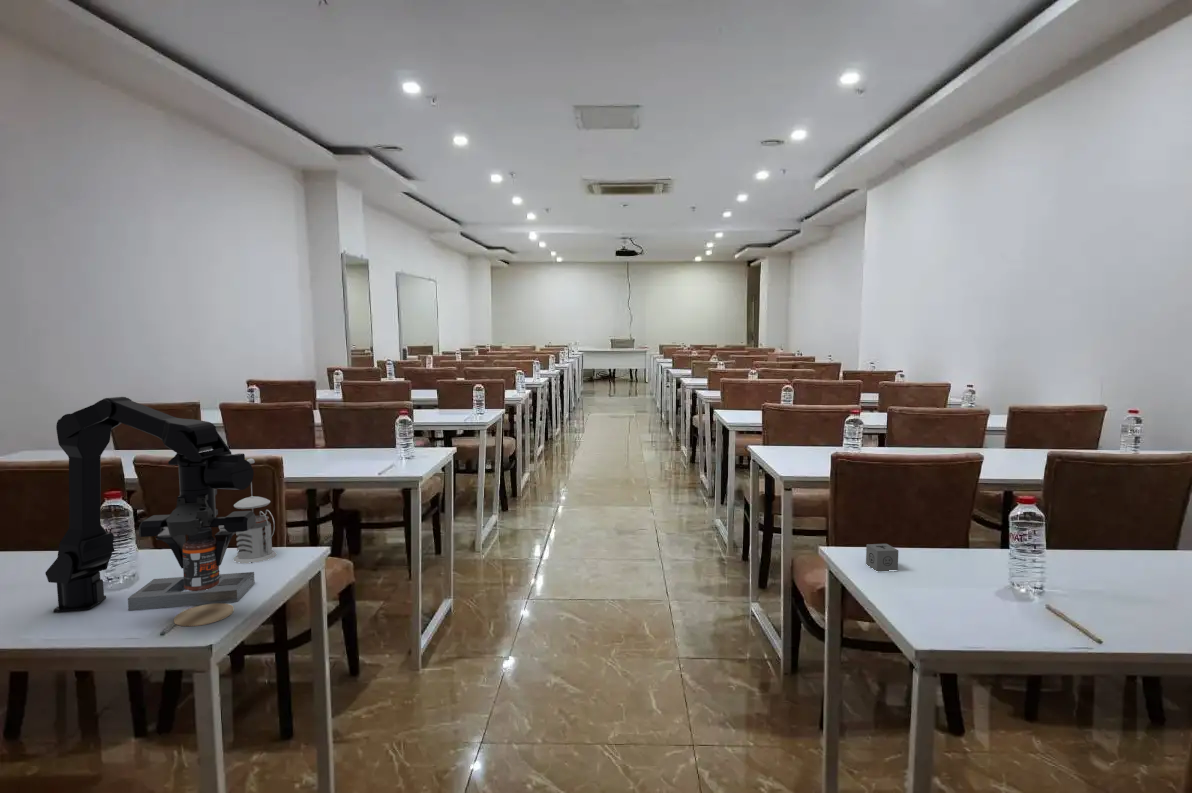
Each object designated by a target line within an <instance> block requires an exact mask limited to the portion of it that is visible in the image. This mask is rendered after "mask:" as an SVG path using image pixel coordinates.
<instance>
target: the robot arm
mask: <svg viewBox="0 0 1192 793" xmlns="http://www.w3.org/2000/svg"><path fill="white" fill-rule="evenodd" d="M121 424H123V425H126V426H128V427H131V428H133V429H136V430H139V431H140V432H144V433H146V434H149V435H151V436H153V437H157V438H159V439H160V440H161V441H162V443H163V445H164V446H165V447H166V448H168V449H170V450H171V451H173V452H175V453H176V454H175V455H174V456H173V457H172V458H171V459H170V460H168V462H167V463H168V465H170V466H178V479H179V480H178V482H179V495H178V496H177V499H176V506H175V509H173V510H172V511H171V513H170V514H154V515H151V516H149V517H148V518H145V519H144V520H142V521H141V522H140V523H139V526H138V537H140V538H143V537H145V538H148V537H155V539H156V540H157V541H162V542H163V543H165V544H167V546H168V547H169V549H170V550H171V551H172V553H173V555H174V557H175V559H176V561H177V562H178V565H179V567H180V568H181V569H183V544H184V543H185V542H187V540H186V537H188V536H191V535H195V534H197V533H198V532H199V531H200V528H218V529H219V531H218V532H216V533H215V534H214V537H215V539H216V541H217V545H216V563H217V566H219V567H220V566H221V565H222V563H223V560H224V557H225V555H226V551H227V549H228V546H229V543H230V542H231V540H232V538H233V536H234V535H235V534H236V532H243V531H247V530H249V529H250V528H251V527H252V526H253V525H255V524H256V517H255V516H256V514H255V512H254V511H253V512H252V510H240V511H238V510H237V511H232V512H231V513H229V514H228V515H226V516H218V515H219V509H217V508H216V507H217V506H216V496H217V495H218V490H232V491H233V490H235V491H236V490H238V491H243V490H246V489H247V488H248V487H249V486H251V482H252V483H253V480H254V472H255V471H254V468H253V467H252V463H251V464H250V463H249V462H248V461H247V459H246V456H245V454H244V453H234V454H233V453H232V451H231V449H230V448H229V447H228V445H227V444H226V442H225V441H224V439H223V438H222V437H221V435H220V434H219V432H218V431H217V427H216V426H215V424H214V423H211V422H209V421H205V420H199V419H194V418H180V417H175V416H172V415H170V414H167V413H166V412H162V411H160V410H158V409H154V408H152V407H150V406H146V405H144V404H142V403H138V402H136V401H133V400H132V399H131V398H129V397H126V396H115V397H106V398H103V399H101V400H98V401H97V402H95V403H94V404H92V405H89V406H87V407H84V408H82V409H79V410H76V411H73V412H72V413H66V414H64V415H62V416H61V417H60V418H59V419H58V420H57V422H56V425H55V426H56V434H57V435H56V436H57V441H58V446H60V448H61V450H63V452H64V453H65V454H66V455H67V457H68V510H69V512H68V529H67V531H66V532H65V534H64V536H63V537H62V538H61V541H60V542H59V545H58V551H57V558H56V559H55V560H54V561H53V562H52V564H51V565H50V566H49V567H48V568H47V570H45V574H44V575H45V576H46V579H47V582H48V583H52V584H53V583H54V584H56V591H57V605H58V606H56V608H53V613H61V612H74V611H85V610H91V609H92V608H94V607H95V606H97V605H99V603H101V602H102V601H104V600H106V599H107V595H106V594H105V588H104V580H103V579H102V578H101V572H102V571H106V570H107V569H108V567H109V562H110V560H111V558H112V554H113V552H115V548H114V538H115V536H114V533H113V532H108V531H107V530H106V529H105V528H104V527H103V525H102V523H101V522H102V521H101V520H102V519H101V518H102V515H101V513H102V512H101V510H102V508H101V507H102V506H101V505H102V504H101V502H102V501H101V491H102V490H101V488H102V487H101V482H102V480H101V479H102V477H101V470H102V469H101V463H102V462H101V460H102V455H103V453H104V451H105V449H106V448H107V446H108V445H109V443H110V441H111V435H112V430H114V428H116V427H118V426H120V425H121ZM217 516H218V517H217Z"/></svg>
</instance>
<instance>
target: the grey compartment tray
mask: <svg viewBox="0 0 1192 793" xmlns="http://www.w3.org/2000/svg"><path fill="white" fill-rule="evenodd" d="M255 582H256V581H255V572H254V571H249V572H235V573H233V572H232V573H219V584H218V585H216V586H215V587H213V588H210V589H207V590H202V591H189V590H186V589H185V588H184V576H177V577H163V578H153V579H152V580H151V581H149V582H148V583H146V584H144V586H142V587H141V588H139V589H138V590H136V592H135V593H133V594H131V595H130V596H129V597H127V607H128V608H127V609H128V611H139V610H150V609H153V610H154V609H163V608H164V609H165V608H177V607H189V606H191V607H192V606H201V605H206V604H215V603H224V604H229V603H238V602H239V601H240V600H241V599H242V598H243V597H244V595H245V594H246V593H247V592H248V591H249V589H251V587H252V586H254V585H255Z"/></svg>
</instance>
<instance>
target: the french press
mask: <svg viewBox="0 0 1192 793" xmlns="http://www.w3.org/2000/svg"><path fill="white" fill-rule="evenodd" d="M246 460H247V461H248V462H249V463H250V464H251V465H252V464H255V462H256V461H255V459H254V458H248V459H246ZM250 494H251V496H248V497H245V498H241V499H240V500H238V501H236V502H235V503H234V504H233V507H234V508H235V509H239V510H240V509H241V510H246V509H247V510H250V509H251V511H252V512H253V513H254V509H256V508H258V509H259V508H263V507H266V506H268V505H270V503H271V500H270V499H268V498H266V497H262V496H253V481H252V482H251V484H250ZM268 513H269V515H270V516H271V519H272V522H273V530H272V526H271V525H272V523H271V522H270V521H269V519H270V516H267V514H268ZM255 517H256V524H255V525H253V526H252V527H251V528H250V529H249V530H247V531H243V532H236V533H235V534H236V536H237V537H236V539H235V540H236V546H237V547H236V551H237V553H236V554H237V555H235V557H233V559H234V561H236V562H240V563H239V564H242V563H246V564H250V563H249V562H256V563H260V562H259V561H262V562H264V561H263V560H265V561H269V560H271V559H273V558H275V557H276V556H277V552H276V551H275V550H274V549H273V544H272V543H273V542H272V537H273V535H274V533H275V528H276V526H275V524H276V523H275V519H274V516H273V514H272V513H271V511H270V510H269V509H265V513H264V512H263V511H262V510H259V515H257V514H256V515H255ZM263 529H264V530H263ZM264 533H265V534H264ZM270 558H271V559H270ZM268 559H269V560H268Z"/></svg>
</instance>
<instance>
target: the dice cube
mask: <svg viewBox="0 0 1192 793" xmlns="http://www.w3.org/2000/svg"><path fill="white" fill-rule="evenodd" d="M865 549H866V550H865V553H866V554H865V565H866V564H867V565H868V566H870V567H871V568H873V569H874V570H876V571H889V570H898V571H899V549H897V548H895V547H893V546H892V545H890V544H888V543H873V544H870V543H868V544H866V547H865ZM867 565H866V566H867ZM868 566H867V567H868ZM870 567H869V568H870ZM871 568H870V569H871ZM873 569H872V570H873ZM874 570H873V571H874ZM876 571H875V572H876Z"/></svg>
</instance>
